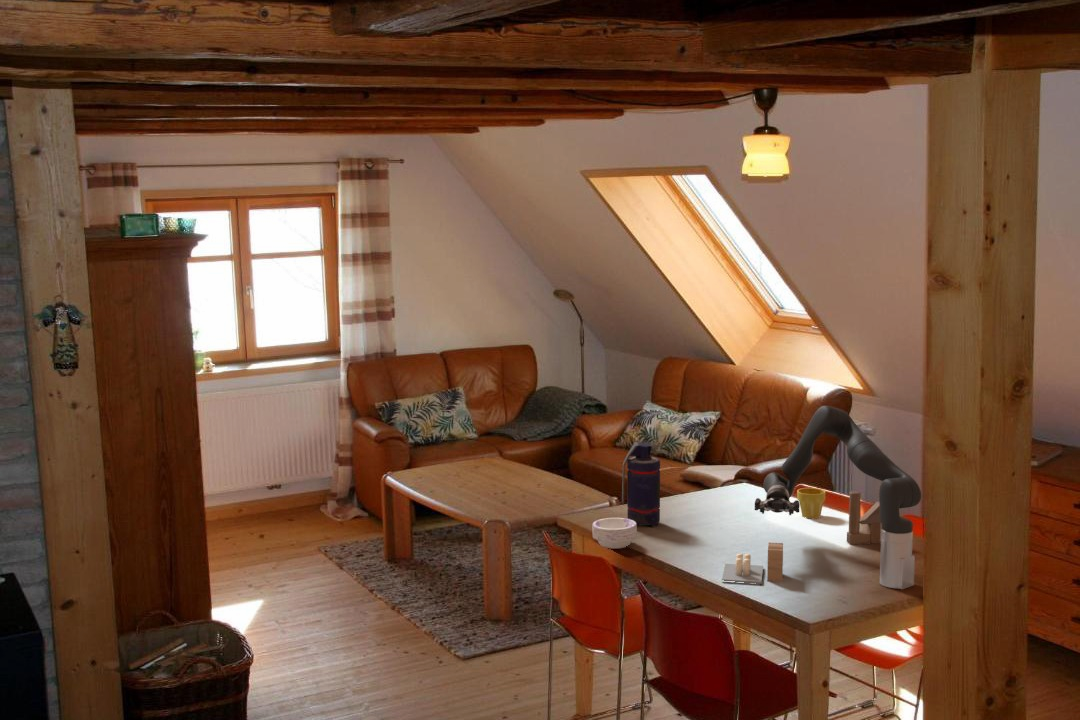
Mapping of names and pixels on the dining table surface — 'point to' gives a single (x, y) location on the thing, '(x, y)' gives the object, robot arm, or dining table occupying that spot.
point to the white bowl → (614, 532)
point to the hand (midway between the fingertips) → (776, 511)
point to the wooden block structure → (863, 522)
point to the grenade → (642, 485)
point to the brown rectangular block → (775, 562)
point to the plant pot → (811, 501)
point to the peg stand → (743, 571)
